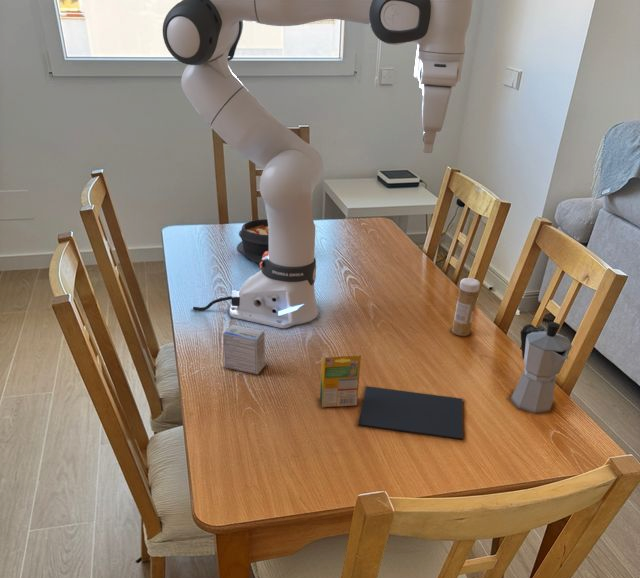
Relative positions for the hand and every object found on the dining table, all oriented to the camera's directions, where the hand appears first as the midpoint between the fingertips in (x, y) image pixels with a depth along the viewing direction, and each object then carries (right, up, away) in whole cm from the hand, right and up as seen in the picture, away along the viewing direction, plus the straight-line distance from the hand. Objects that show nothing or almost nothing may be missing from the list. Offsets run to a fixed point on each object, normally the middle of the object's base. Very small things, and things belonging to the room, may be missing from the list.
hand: (427, 146), depth 127 cm
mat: (-3, -54, -1) cm, 54 cm away
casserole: (-38, -4, +65) cm, 75 cm away
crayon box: (-18, -52, +1) cm, 55 cm away
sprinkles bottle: (+13, -33, +29) cm, 46 cm away
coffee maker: (+22, -51, +5) cm, 56 cm away
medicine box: (-38, -44, +11) cm, 59 cm away
